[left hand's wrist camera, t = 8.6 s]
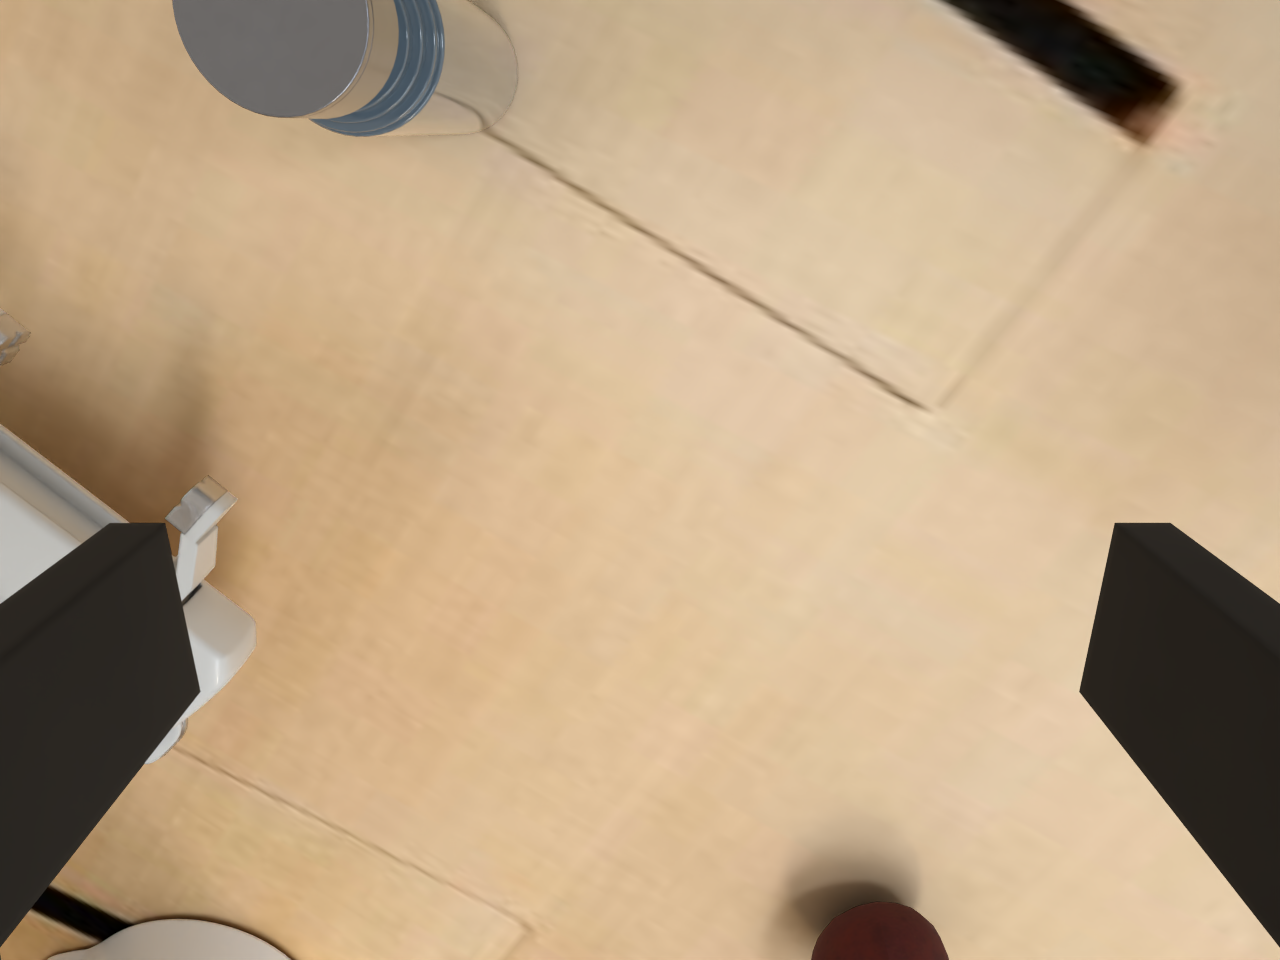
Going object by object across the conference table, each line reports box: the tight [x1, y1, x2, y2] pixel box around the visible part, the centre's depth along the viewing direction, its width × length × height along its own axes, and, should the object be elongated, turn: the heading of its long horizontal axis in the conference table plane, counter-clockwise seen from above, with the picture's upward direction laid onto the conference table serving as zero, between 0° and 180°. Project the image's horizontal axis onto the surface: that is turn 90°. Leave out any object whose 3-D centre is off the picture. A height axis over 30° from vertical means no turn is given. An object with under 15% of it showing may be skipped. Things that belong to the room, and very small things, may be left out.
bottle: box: [309, 0, 518, 137], centre depth 27 cm, size 5×5×18 cm
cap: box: [172, 0, 399, 119], centre depth 19 cm, size 4×4×2 cm
